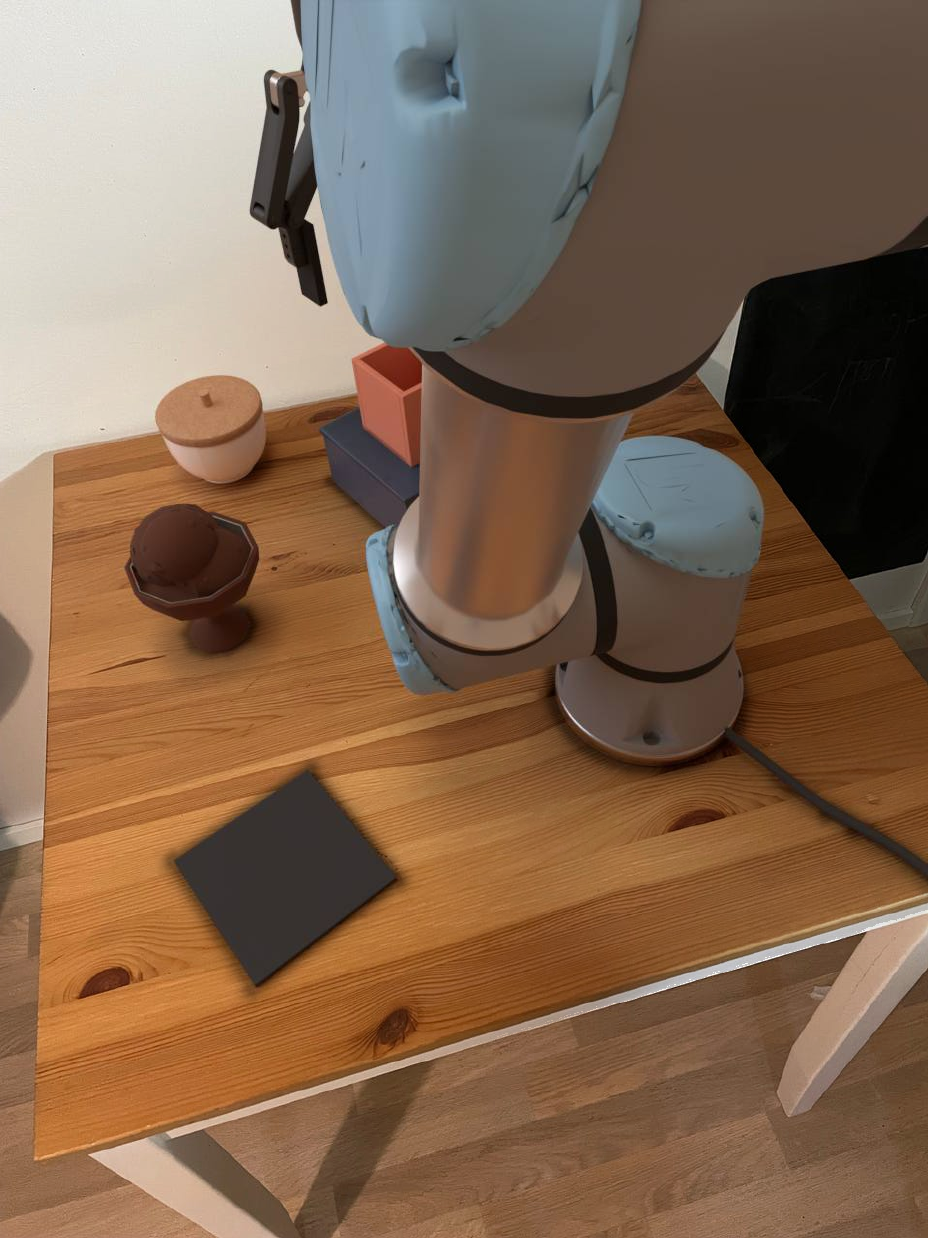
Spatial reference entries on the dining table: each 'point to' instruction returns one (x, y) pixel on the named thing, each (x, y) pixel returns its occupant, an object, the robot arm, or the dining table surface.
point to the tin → (369, 469)
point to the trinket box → (214, 427)
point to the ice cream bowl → (195, 571)
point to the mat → (283, 875)
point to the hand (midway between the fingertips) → (381, 267)
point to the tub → (391, 398)
